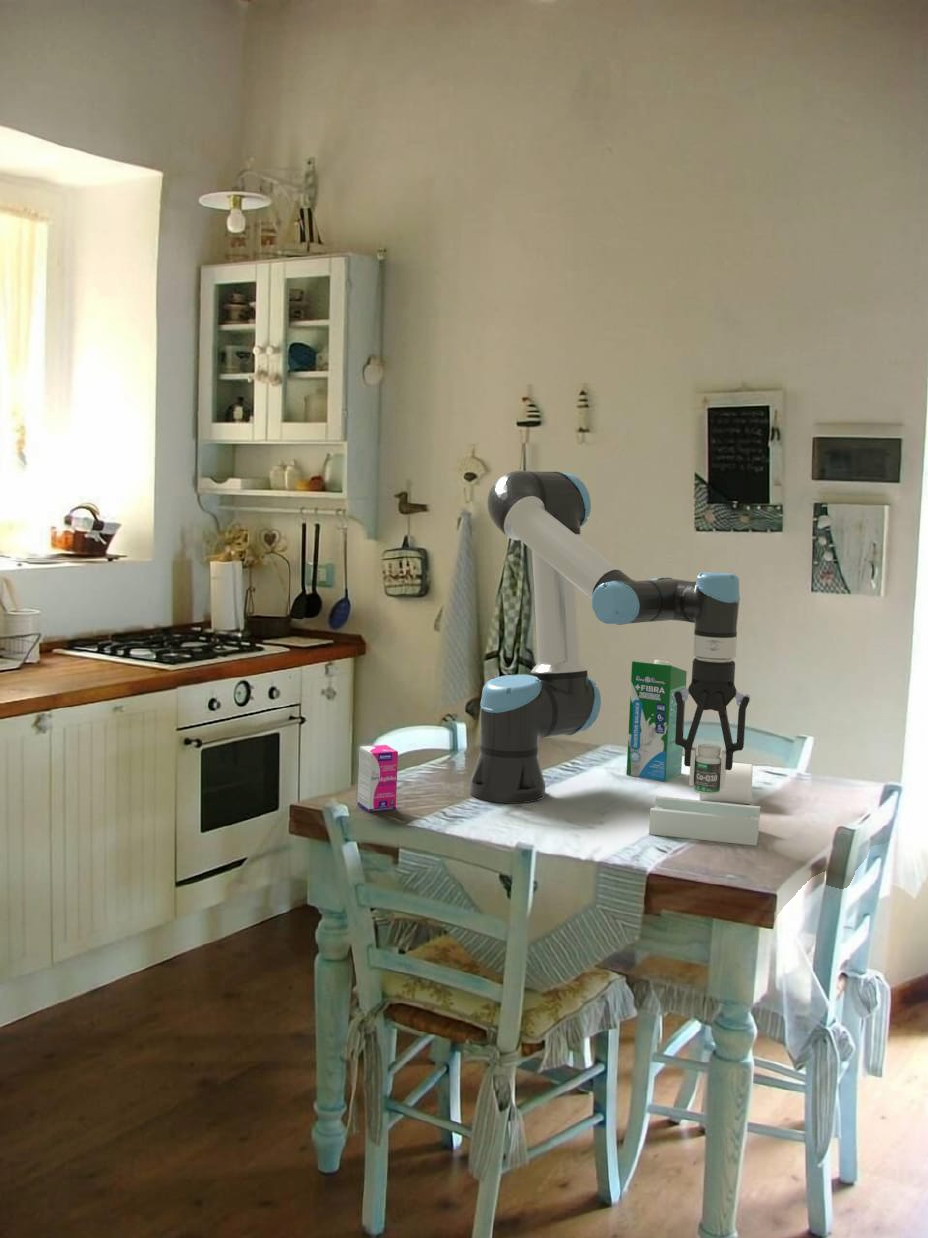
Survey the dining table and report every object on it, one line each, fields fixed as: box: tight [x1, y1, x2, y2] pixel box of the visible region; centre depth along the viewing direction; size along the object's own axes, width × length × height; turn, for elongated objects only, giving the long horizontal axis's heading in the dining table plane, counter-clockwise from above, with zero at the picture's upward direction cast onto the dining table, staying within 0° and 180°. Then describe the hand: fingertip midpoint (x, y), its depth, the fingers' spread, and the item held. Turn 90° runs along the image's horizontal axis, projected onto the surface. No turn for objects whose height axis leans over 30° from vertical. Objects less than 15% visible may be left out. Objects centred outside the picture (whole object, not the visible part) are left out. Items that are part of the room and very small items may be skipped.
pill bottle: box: [693, 743, 722, 795], centre depth 224 cm, size 5×5×8 cm
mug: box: [698, 762, 754, 805], centre depth 249 cm, size 12×10×8 cm
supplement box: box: [357, 744, 399, 813], centre depth 235 cm, size 6×6×12 cm
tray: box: [648, 795, 761, 847], centre depth 225 cm, size 19×10×4 cm, turn 75°
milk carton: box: [626, 659, 688, 782], centre depth 267 cm, size 9×9×25 cm
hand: (707, 785), depth 225 cm, fingers closed on pill bottle, 5 cm apart
